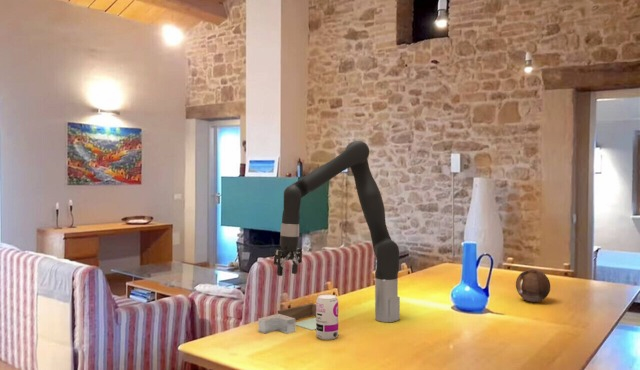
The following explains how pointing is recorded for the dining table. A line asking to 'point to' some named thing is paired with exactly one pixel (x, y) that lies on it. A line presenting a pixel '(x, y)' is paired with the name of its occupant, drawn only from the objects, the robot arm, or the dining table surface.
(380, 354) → the dining table surface
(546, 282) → the wooden sphere
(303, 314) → the brown wooden corner wall
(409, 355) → the dining table surface
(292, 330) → the bracket
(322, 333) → the supplement can
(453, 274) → the dining table surface
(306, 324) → the pad
